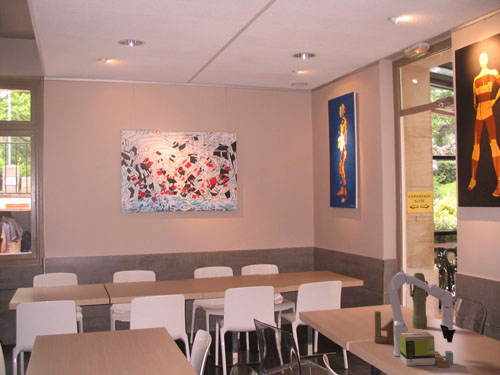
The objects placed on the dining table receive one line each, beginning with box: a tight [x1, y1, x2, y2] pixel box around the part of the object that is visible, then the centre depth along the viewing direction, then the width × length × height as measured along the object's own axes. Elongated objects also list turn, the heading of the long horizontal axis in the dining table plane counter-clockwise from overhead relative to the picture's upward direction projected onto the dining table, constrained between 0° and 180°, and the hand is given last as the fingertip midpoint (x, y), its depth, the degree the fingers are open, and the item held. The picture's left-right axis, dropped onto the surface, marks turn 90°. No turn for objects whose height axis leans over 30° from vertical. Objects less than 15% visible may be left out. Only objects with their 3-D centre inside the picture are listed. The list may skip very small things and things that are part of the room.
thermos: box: [409, 272, 429, 330], centre depth 360 cm, size 9×12×35 cm
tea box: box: [400, 331, 436, 367], centre depth 284 cm, size 15×10×15 cm, turn 92°
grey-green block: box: [438, 350, 454, 366], centre depth 282 cm, size 4×7×6 cm, turn 84°
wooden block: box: [373, 310, 395, 344], centre depth 324 cm, size 4×11×18 cm, turn 85°
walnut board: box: [435, 350, 450, 369], centre depth 287 cm, size 24×5×2 cm, turn 174°
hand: (447, 340), depth 291 cm, fingers open, 7 cm apart
